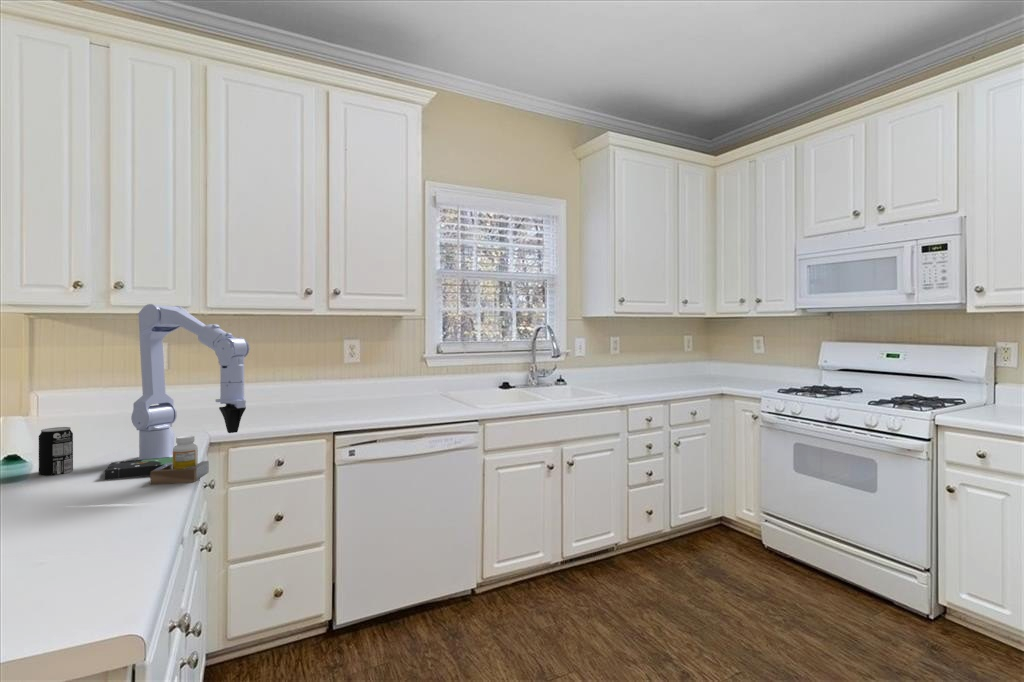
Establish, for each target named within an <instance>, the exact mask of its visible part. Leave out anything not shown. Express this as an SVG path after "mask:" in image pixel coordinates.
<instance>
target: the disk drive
mask: <svg viewBox="0 0 1024 682" xmlns="http://www.w3.org/2000/svg"><path fill="white" fill-rule="evenodd" d="M167 463H173V457H163V458H153V459H142V460H137V459H135V460H134V459H133V460H132V459H131V460H123V461H114V462H113V461H111V462H110V464H108V466H107V468H104V469H105V470H104V480H105V481H106V480H107V479H110V480H120V479H119V478H121V479H128V478H129V479H130V478H138V477H145V476H146V477H150V472H151V471H153V470H155V469H157V468H159V467H161V466H163V465H165V464H167Z"/></svg>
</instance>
